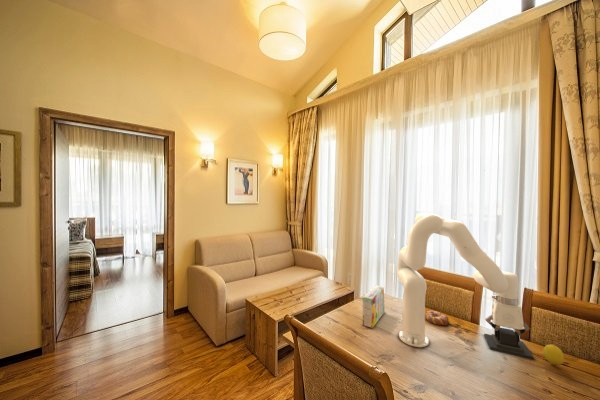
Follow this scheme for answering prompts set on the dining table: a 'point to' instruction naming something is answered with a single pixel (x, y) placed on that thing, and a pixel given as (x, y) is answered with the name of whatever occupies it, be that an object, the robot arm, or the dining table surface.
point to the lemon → (553, 354)
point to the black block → (508, 336)
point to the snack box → (373, 306)
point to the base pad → (508, 347)
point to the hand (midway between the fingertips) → (506, 340)
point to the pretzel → (436, 318)
